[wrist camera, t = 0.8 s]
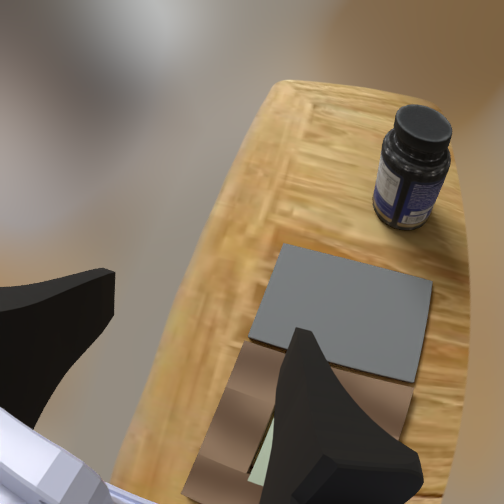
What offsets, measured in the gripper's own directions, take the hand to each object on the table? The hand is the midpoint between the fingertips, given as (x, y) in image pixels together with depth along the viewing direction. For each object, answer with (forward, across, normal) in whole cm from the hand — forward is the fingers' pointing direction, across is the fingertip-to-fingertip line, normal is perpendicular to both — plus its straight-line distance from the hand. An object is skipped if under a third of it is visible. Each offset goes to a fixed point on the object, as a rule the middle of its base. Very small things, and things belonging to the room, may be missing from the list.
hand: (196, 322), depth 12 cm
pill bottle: (+22, -13, -4) cm, 26 cm away
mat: (+14, -9, +5) cm, 17 cm away
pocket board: (+5, -8, +13) cm, 16 cm away
